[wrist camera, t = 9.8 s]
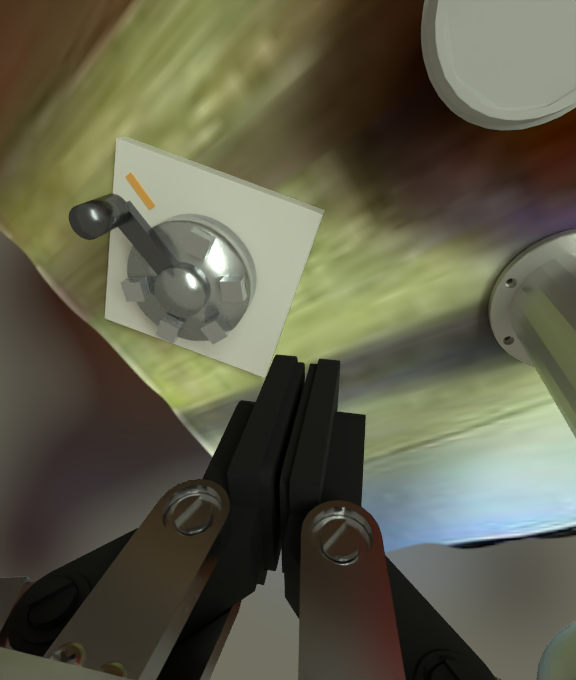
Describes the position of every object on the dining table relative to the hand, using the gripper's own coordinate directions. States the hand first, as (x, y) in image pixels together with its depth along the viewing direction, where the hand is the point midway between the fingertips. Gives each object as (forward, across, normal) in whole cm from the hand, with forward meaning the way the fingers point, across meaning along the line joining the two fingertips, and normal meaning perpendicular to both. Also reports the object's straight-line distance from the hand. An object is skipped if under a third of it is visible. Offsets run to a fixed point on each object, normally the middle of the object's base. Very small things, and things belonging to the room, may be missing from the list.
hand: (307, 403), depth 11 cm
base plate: (+27, +14, +7) cm, 31 cm away
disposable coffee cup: (+27, -7, -10) cm, 30 cm away
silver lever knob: (+25, +15, +5) cm, 30 cm away
